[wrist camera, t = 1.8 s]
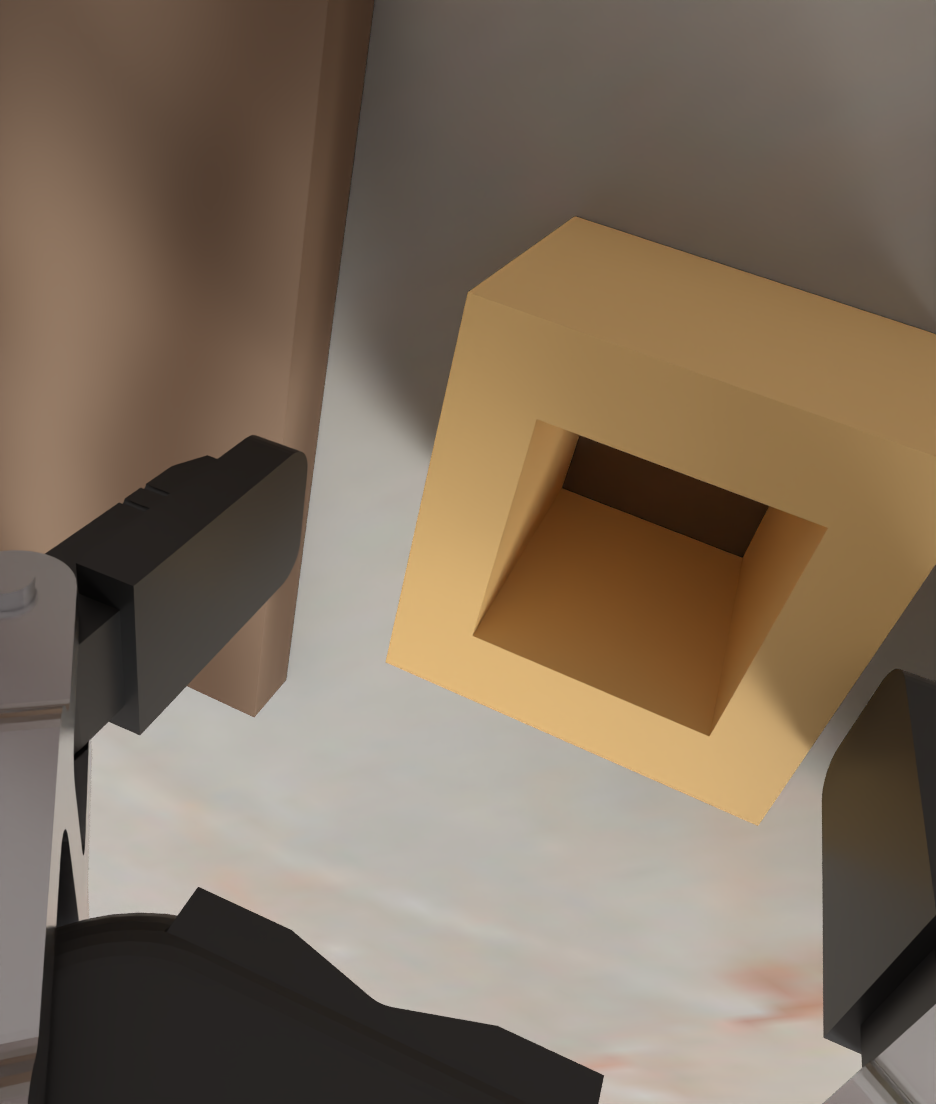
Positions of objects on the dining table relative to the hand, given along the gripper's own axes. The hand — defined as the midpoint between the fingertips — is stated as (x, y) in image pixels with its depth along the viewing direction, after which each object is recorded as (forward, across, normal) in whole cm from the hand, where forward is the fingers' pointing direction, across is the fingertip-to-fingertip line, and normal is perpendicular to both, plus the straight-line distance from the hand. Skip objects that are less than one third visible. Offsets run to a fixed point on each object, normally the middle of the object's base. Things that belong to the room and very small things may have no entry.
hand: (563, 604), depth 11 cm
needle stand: (+6, +14, +1) cm, 15 cm away
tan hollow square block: (+5, -1, 0) cm, 5 cm away
